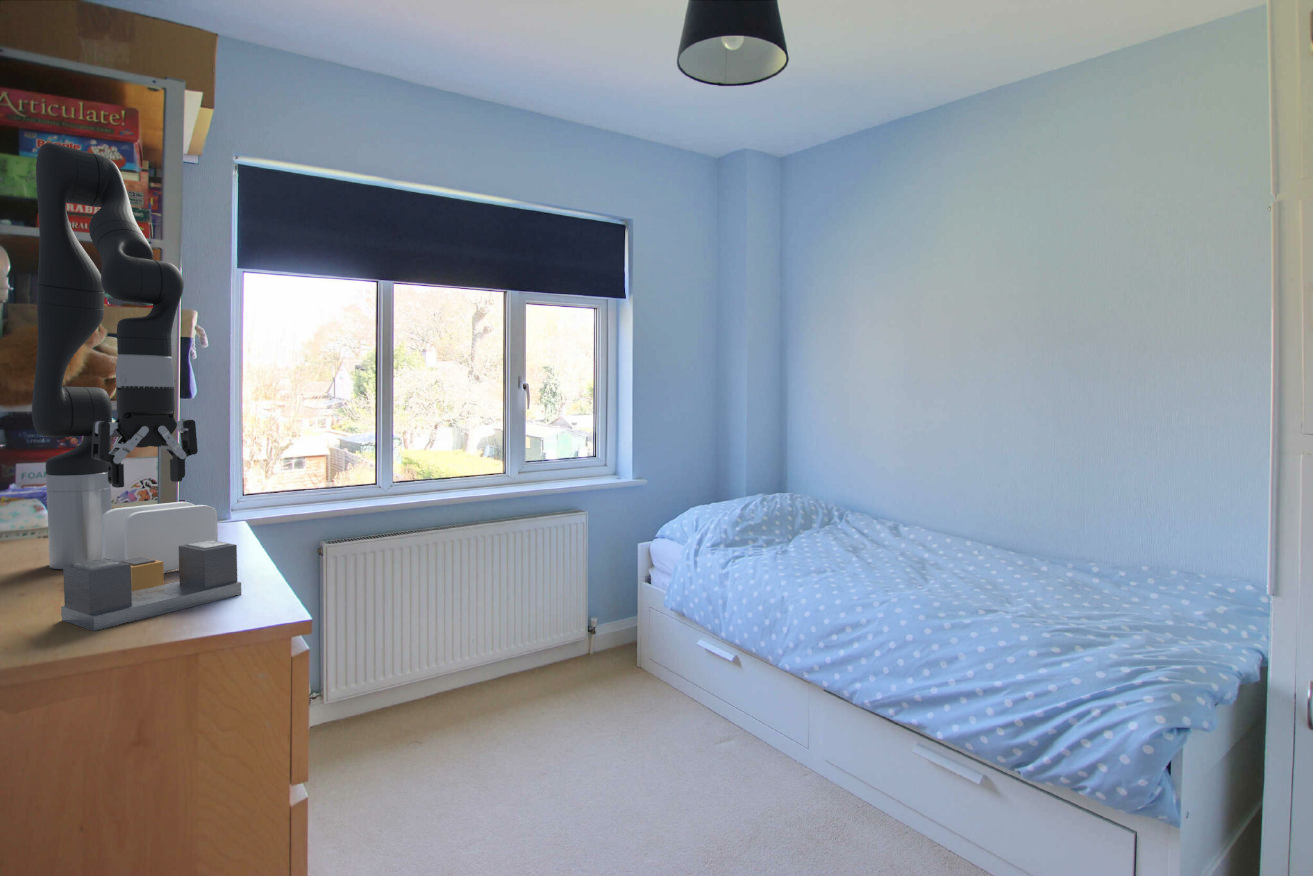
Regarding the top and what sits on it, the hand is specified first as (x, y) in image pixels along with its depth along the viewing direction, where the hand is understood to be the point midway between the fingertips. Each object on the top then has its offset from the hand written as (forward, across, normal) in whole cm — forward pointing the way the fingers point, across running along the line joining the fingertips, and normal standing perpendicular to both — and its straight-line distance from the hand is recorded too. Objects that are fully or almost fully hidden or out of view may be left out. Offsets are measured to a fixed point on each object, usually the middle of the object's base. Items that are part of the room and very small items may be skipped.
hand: (147, 484), depth 111 cm
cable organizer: (+18, -9, -14) cm, 24 cm away
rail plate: (+17, +4, +11) cm, 21 cm away
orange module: (+18, +1, -2) cm, 18 cm away
